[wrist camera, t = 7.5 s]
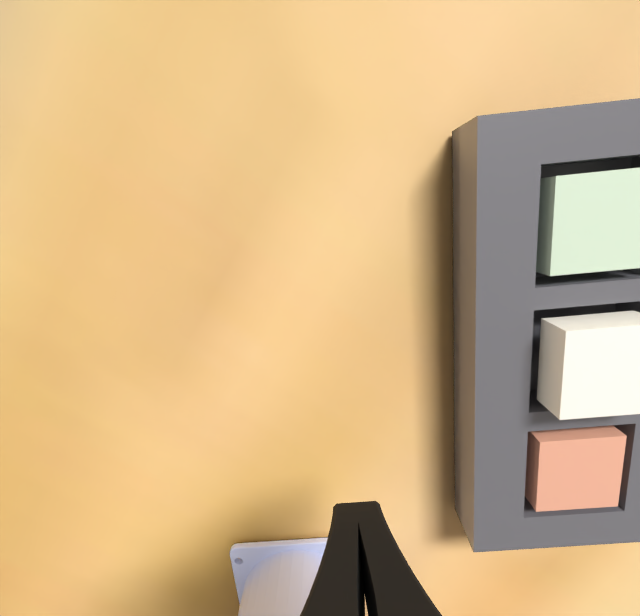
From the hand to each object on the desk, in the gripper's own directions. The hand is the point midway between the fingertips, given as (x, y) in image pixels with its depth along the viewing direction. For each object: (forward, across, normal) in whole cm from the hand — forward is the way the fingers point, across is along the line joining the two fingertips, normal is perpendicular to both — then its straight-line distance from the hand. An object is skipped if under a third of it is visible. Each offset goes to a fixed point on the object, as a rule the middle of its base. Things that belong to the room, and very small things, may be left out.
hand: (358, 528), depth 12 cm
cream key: (+7, -11, -2) cm, 13 cm away
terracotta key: (+8, -11, +4) cm, 14 cm away
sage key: (+8, -11, -8) cm, 16 cm away
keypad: (+9, -11, -2) cm, 15 cm away
